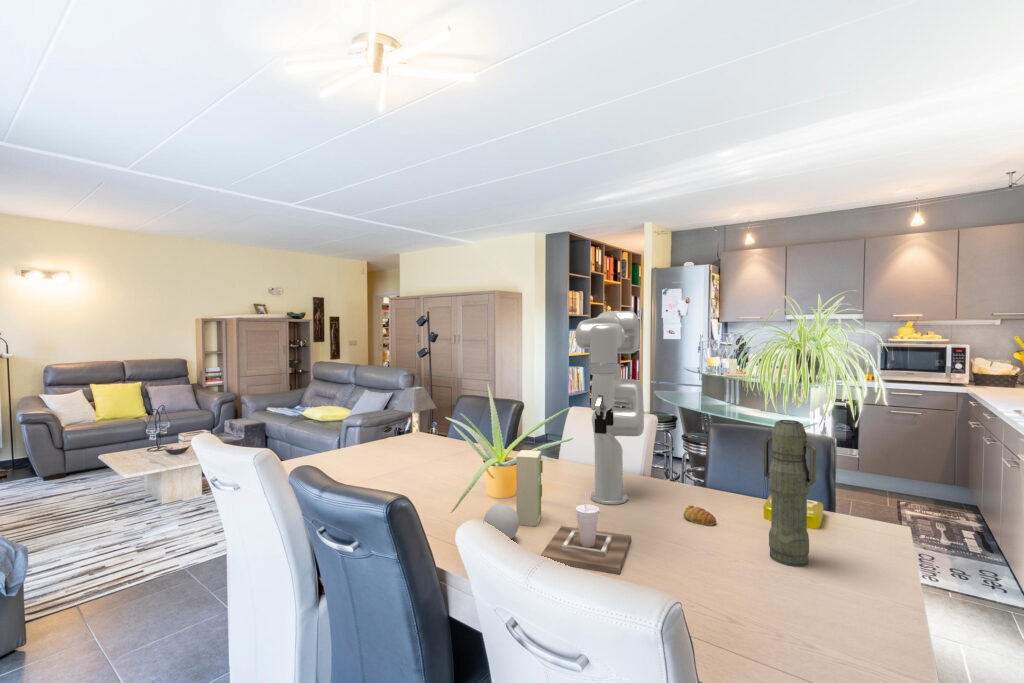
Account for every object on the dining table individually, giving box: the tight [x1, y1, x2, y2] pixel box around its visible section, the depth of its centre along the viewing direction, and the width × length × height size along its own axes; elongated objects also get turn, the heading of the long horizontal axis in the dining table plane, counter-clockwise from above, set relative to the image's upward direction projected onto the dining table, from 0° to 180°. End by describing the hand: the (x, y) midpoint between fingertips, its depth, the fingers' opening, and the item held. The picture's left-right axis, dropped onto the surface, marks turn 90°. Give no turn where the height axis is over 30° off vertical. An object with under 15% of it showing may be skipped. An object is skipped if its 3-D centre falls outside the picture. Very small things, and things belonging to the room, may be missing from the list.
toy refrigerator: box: [515, 449, 544, 527], centre depth 152 cm, size 8×7×21 cm
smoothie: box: [574, 491, 601, 547], centre depth 132 cm, size 6×6×14 cm
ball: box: [483, 503, 520, 540], centre depth 138 cm, size 10×10×10 cm
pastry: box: [682, 504, 717, 527], centre depth 151 cm, size 9×7×4 cm
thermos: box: [763, 419, 817, 567], centre depth 125 cm, size 9×12×35 cm
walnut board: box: [540, 525, 632, 575], centre depth 131 cm, size 20×20×3 cm
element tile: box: [763, 494, 824, 530], centre depth 153 cm, size 15×15×5 cm
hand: (604, 429), depth 139 cm, fingers open, 9 cm apart
